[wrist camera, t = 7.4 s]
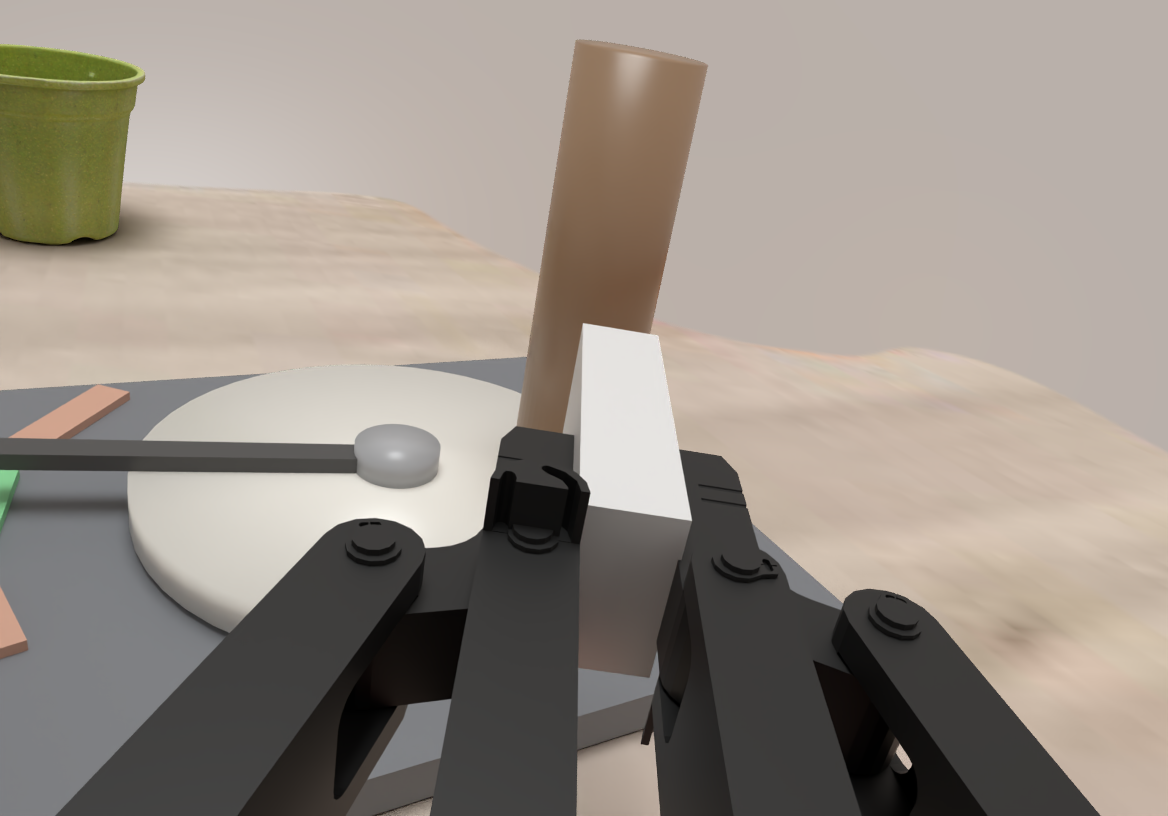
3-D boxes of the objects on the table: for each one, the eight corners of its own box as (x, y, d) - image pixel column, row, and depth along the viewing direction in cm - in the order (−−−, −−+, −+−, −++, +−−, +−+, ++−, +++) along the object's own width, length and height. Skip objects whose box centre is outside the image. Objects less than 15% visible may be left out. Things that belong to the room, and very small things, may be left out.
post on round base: (-28, 501, 25) (-112, -69, 19) (327, 350, 38) (345, -21, 32) (472, 759, 20) (577, 96, 14) (688, 485, 33) (792, 74, 27)
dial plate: (-103, 429, 30) (-111, 389, 29) (556, 378, 43) (561, 348, 42) (-199, 999, 15) (-220, 942, 14) (859, 659, 28) (874, 620, 27)
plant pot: (126, 265, 46) (117, 89, 42) (-85, 244, 44) (-114, 56, 40) (168, 216, 54) (163, 64, 51) (-8, 196, 52) (-26, 36, 48)
